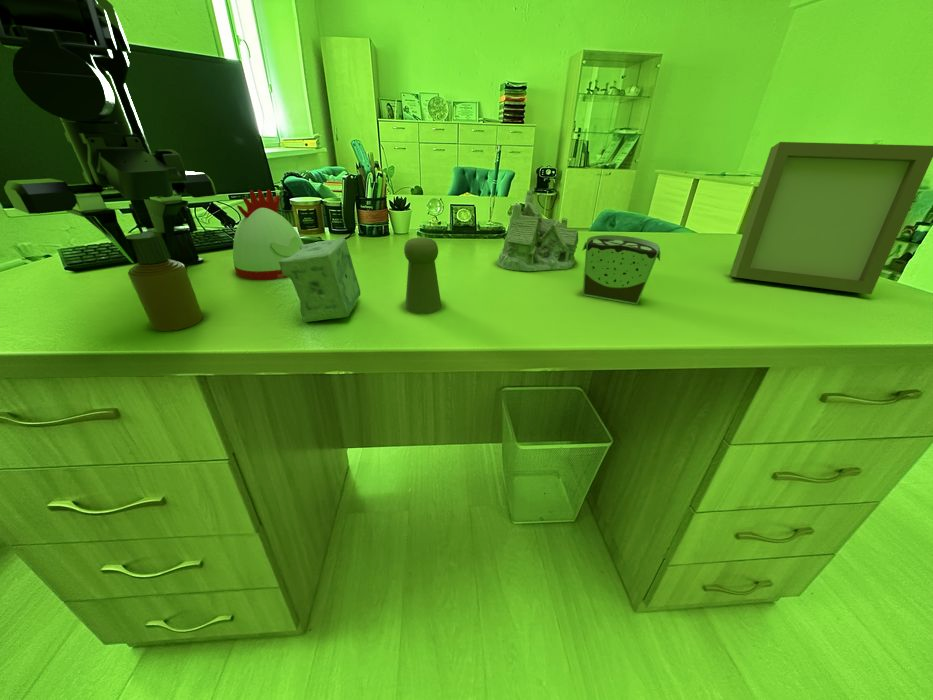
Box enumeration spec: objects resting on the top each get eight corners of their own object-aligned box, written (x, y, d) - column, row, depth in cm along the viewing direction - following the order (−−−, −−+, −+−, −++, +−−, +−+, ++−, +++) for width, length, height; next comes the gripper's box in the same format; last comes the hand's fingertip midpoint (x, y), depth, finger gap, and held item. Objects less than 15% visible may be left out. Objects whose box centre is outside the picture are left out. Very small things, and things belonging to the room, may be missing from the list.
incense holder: (313, 299, 63) (300, 237, 57) (362, 299, 63) (354, 237, 58) (292, 324, 54) (275, 254, 49) (349, 324, 54) (338, 254, 49)
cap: (162, 253, 52) (153, 230, 50) (176, 258, 50) (167, 234, 48) (128, 260, 49) (118, 236, 47) (142, 266, 47) (131, 240, 45)
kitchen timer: (324, 266, 78) (311, 189, 70) (263, 284, 68) (239, 197, 60) (284, 255, 84) (267, 183, 77) (222, 270, 74) (196, 190, 67)
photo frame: (868, 299, 68) (962, 146, 56) (733, 281, 75) (790, 141, 63) (833, 275, 80) (905, 145, 68) (720, 262, 87) (766, 141, 75)
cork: (447, 302, 63) (446, 236, 57) (432, 316, 58) (430, 245, 52) (415, 297, 64) (411, 232, 59) (398, 310, 59) (393, 241, 54)
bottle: (190, 309, 58) (160, 231, 52) (211, 319, 55) (182, 237, 49) (144, 324, 53) (105, 240, 47) (164, 335, 50) (126, 247, 44)
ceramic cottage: (487, 263, 81) (497, 190, 74) (521, 251, 93) (532, 187, 86) (552, 283, 74) (570, 204, 67) (580, 266, 86) (597, 199, 79)
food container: (647, 294, 68) (663, 239, 63) (646, 306, 63) (663, 247, 58) (580, 283, 72) (589, 231, 67) (574, 293, 67) (584, 238, 62)
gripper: (-6, 118, 31) (86, 292, 39) (220, 126, 45) (254, 253, 53) (-38, 118, 36) (49, 273, 44) (175, 125, 50) (212, 242, 58)
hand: (152, 259), depth 49 cm, fingers closed on cap, 4 cm apart
